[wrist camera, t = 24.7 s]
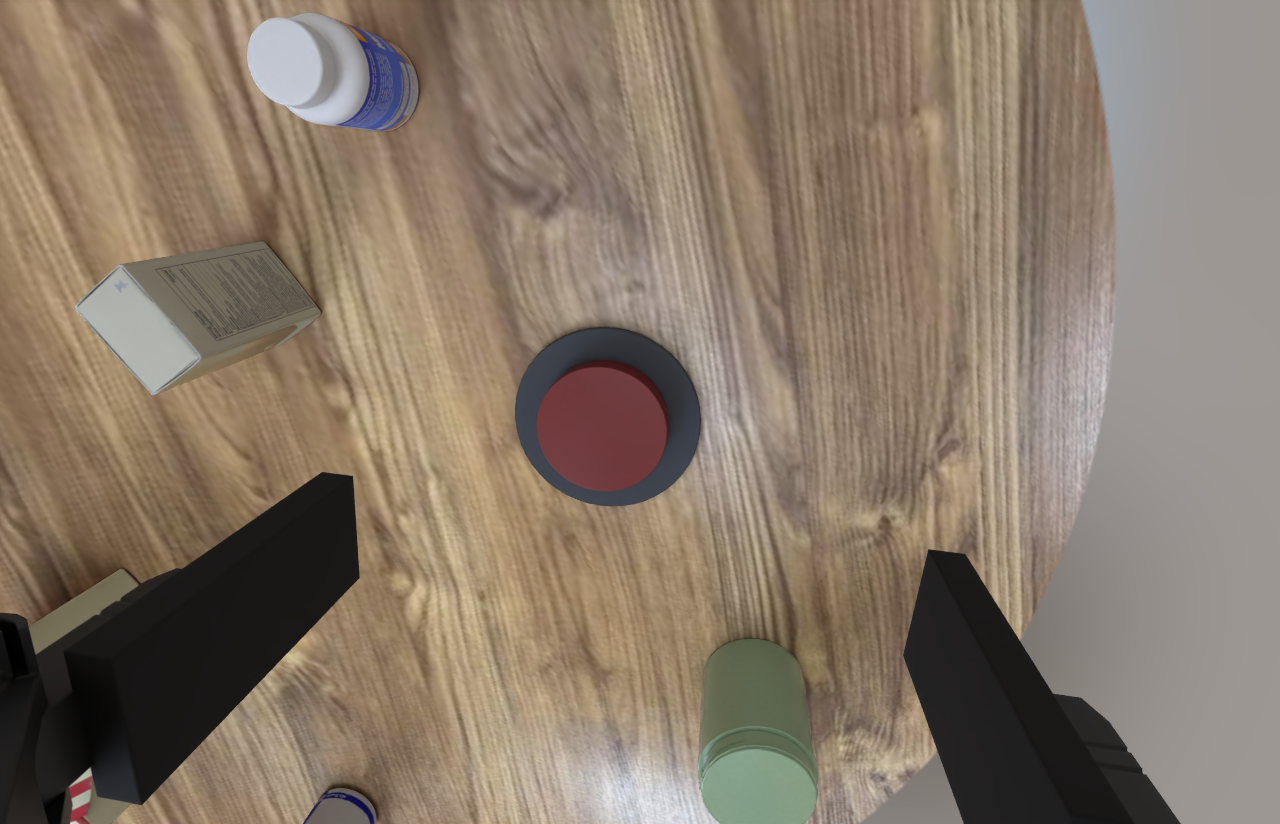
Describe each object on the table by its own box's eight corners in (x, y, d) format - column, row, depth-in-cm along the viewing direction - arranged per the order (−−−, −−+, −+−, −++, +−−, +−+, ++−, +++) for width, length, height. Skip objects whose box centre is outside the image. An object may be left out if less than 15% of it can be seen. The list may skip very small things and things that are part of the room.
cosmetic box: (224, 273, 48) (65, 302, 37) (265, 238, 47) (114, 256, 35) (284, 349, 49) (149, 400, 38) (326, 316, 48) (200, 359, 37)
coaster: (711, 338, 45) (711, 340, 45) (689, 514, 50) (689, 518, 49) (520, 316, 46) (517, 318, 46) (514, 490, 51) (512, 493, 50)
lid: (534, 364, 47) (526, 372, 45) (662, 354, 45) (659, 361, 44) (553, 483, 49) (547, 494, 48) (675, 476, 48) (673, 488, 46)
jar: (812, 646, 52) (831, 757, 42) (795, 728, 54) (810, 851, 44) (709, 631, 52) (704, 736, 42) (697, 712, 55) (689, 829, 45)
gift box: (270, 665, 59) (95, 848, 43) (154, 759, 64) (-40, 954, 48) (117, 523, 56) (-132, 662, 40) (9, 634, 62) (-248, 796, 45)
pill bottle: (419, 39, 42) (332, -1, 33) (422, 135, 43) (341, 122, 34) (334, 36, 42) (225, -5, 33) (341, 130, 44) (239, 116, 35)
